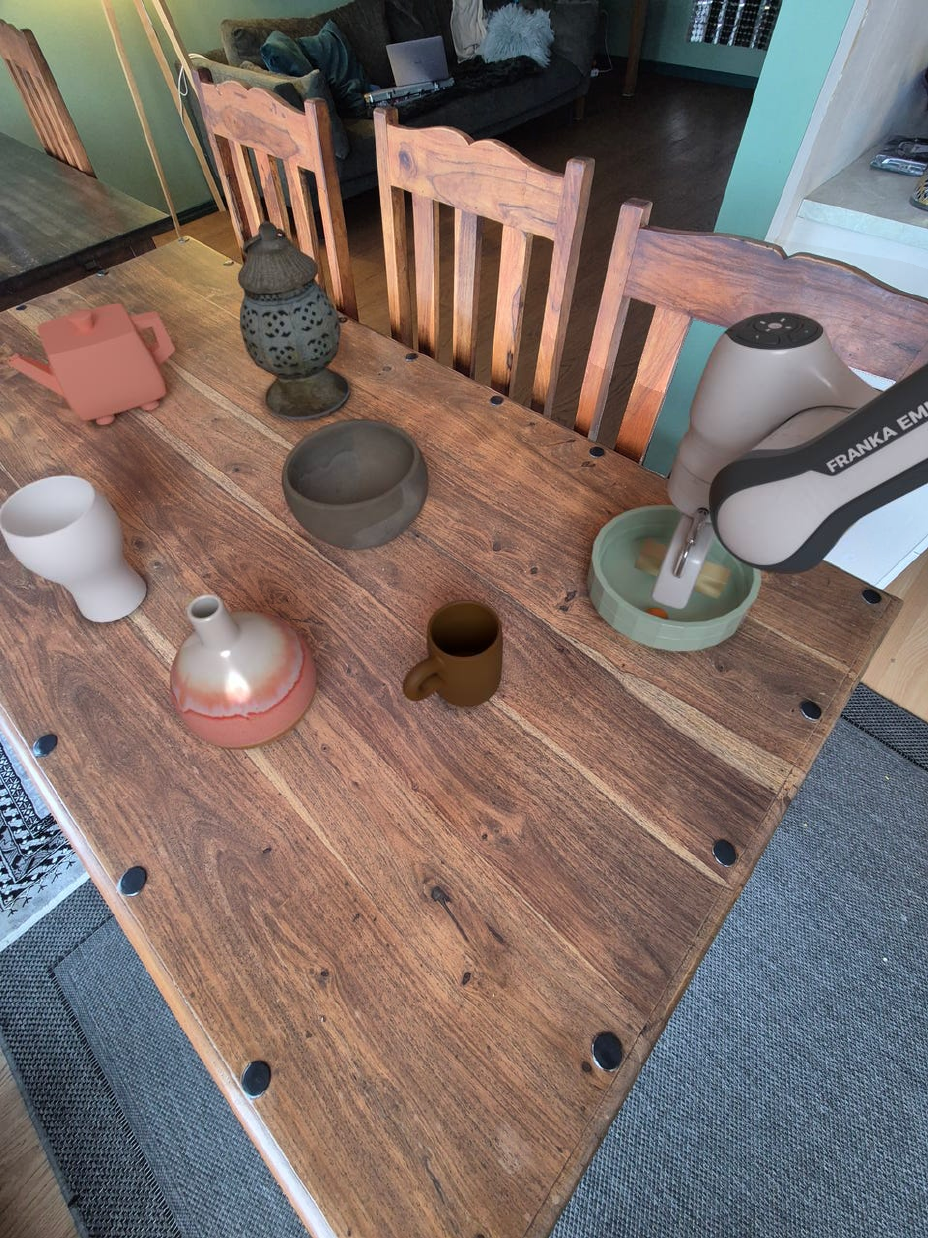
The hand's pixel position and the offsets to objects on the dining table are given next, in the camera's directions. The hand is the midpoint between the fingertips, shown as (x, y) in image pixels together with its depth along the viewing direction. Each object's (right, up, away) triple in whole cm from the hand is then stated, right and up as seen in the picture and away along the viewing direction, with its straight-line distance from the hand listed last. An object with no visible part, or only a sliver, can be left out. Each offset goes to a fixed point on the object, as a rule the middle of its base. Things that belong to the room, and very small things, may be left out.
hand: (680, 573), depth 74 cm
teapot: (-80, +29, +28) cm, 90 cm away
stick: (0, 0, +1) cm, 1 cm away
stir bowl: (-1, -2, +2) cm, 3 cm away
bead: (-5, -5, -2) cm, 7 cm away
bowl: (-38, +8, +11) cm, 41 cm away
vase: (-47, -15, -6) cm, 49 cm away
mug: (-26, -13, -5) cm, 30 cm away
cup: (-68, -3, +4) cm, 68 cm away
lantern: (-50, +31, +28) cm, 65 cm away
